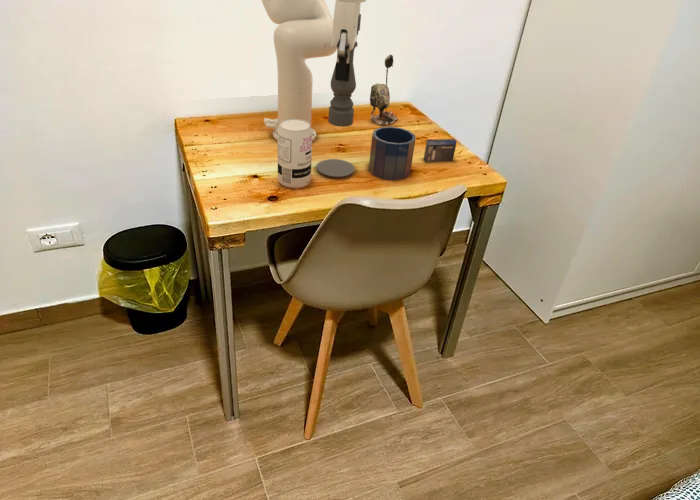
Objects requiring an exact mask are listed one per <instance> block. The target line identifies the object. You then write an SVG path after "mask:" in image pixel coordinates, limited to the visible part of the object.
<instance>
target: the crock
mask: <svg viewBox="0 0 700 500" xmlns="http://www.w3.org/2000/svg"><path fill="white" fill-rule="evenodd" d="M416 137H417V135H416V134H415V133H414V132H412V131H410V130H409V129H405V128H403V127H398V126H381V127H377V128H375V129H373V131H372V135H371V143H370V153H369V162H368V171H369V172H370V174H371V175H373V176H374V177H377V178H379V179H382V180H387V181H401V180H405V179H407V178H408V177H410V176H411V170H412V165H413V159H414V158H413V157H414V152H415V151H414V150H415V144H416Z"/></svg>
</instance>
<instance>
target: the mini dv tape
mask: <svg viewBox="0 0 700 500" xmlns="http://www.w3.org/2000/svg"><path fill="white" fill-rule="evenodd" d="M456 147H457V140H456V139H455V138H439V139H438V138H437V139H426V143H425V149H424V155H423V161H424V162H425V163H436V162H437V163H438V162H439V163H440V162H453V161H454V156H455V151H456Z"/></svg>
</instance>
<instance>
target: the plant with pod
mask: <svg viewBox="0 0 700 500" xmlns="http://www.w3.org/2000/svg"><path fill="white" fill-rule="evenodd" d="M384 66H385V68H386V70H385V71H386V74H385V76H386V77H385V83H375V84H372V82H371V84H372V86H371V87H370V94H369V105H370V107H372V110H371V115H370V117H369V119H370V120H371V121H372V122H373V123H375V124H377V125H380V126H388V125H391V124H393V123H394V122H395V121H397V120H399V118H398V116H397V114H394V113H393V111H391V110H390V111H388V110H387V109H388V108H389V106H390V101H391V96H390V88H389V87H388V74H389V73H388V72H389V69H390V68H391V67H392V68H393V67H394V56H393V55H392V54H389V55H388V56H386V57H385V59H384ZM376 108H377V109H378V112H379V113H378V114H376V115H375V113H376Z"/></svg>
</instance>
